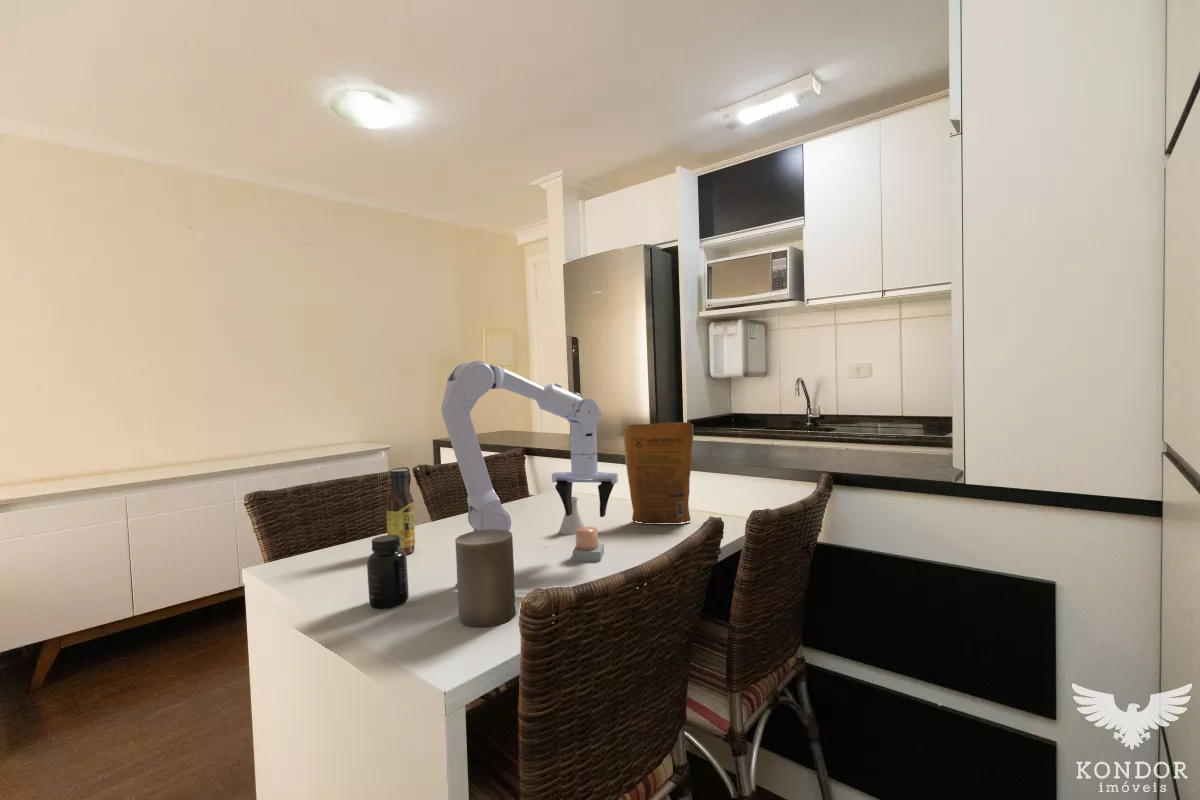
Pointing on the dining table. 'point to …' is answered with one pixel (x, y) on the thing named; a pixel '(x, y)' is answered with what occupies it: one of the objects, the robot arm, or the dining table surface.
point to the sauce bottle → (401, 511)
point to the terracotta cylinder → (586, 538)
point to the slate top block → (589, 554)
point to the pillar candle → (485, 577)
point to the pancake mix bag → (659, 470)
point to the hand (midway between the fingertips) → (585, 515)
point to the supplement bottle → (387, 573)
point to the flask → (571, 520)
